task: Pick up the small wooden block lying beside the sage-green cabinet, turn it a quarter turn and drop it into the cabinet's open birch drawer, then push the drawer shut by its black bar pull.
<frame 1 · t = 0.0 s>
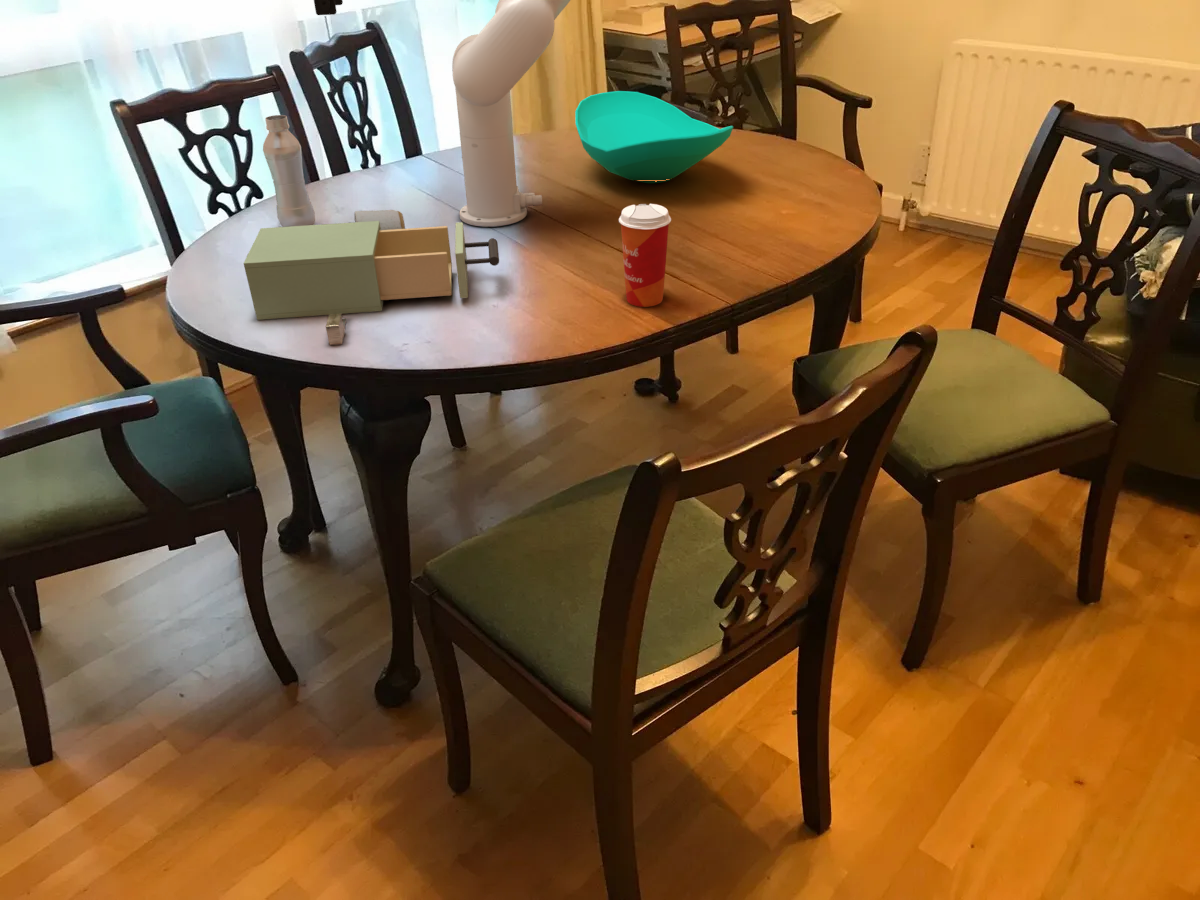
hand: (330, 9, 158), 37 cm above the table, tool pointing down, fingers open, 9 cm apart
plastic bottle: (298, 229, 177), on the table
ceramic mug: (381, 251, 167), on the table
table top decor: (651, 178, 197), on the table
cabinet: (325, 295, 151), on the table
paper cup: (644, 300, 147), on the table
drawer: (426, 261, 150), point 5 cm above the table, slide at 12.0 cm
wooden block: (338, 331, 140), on the table
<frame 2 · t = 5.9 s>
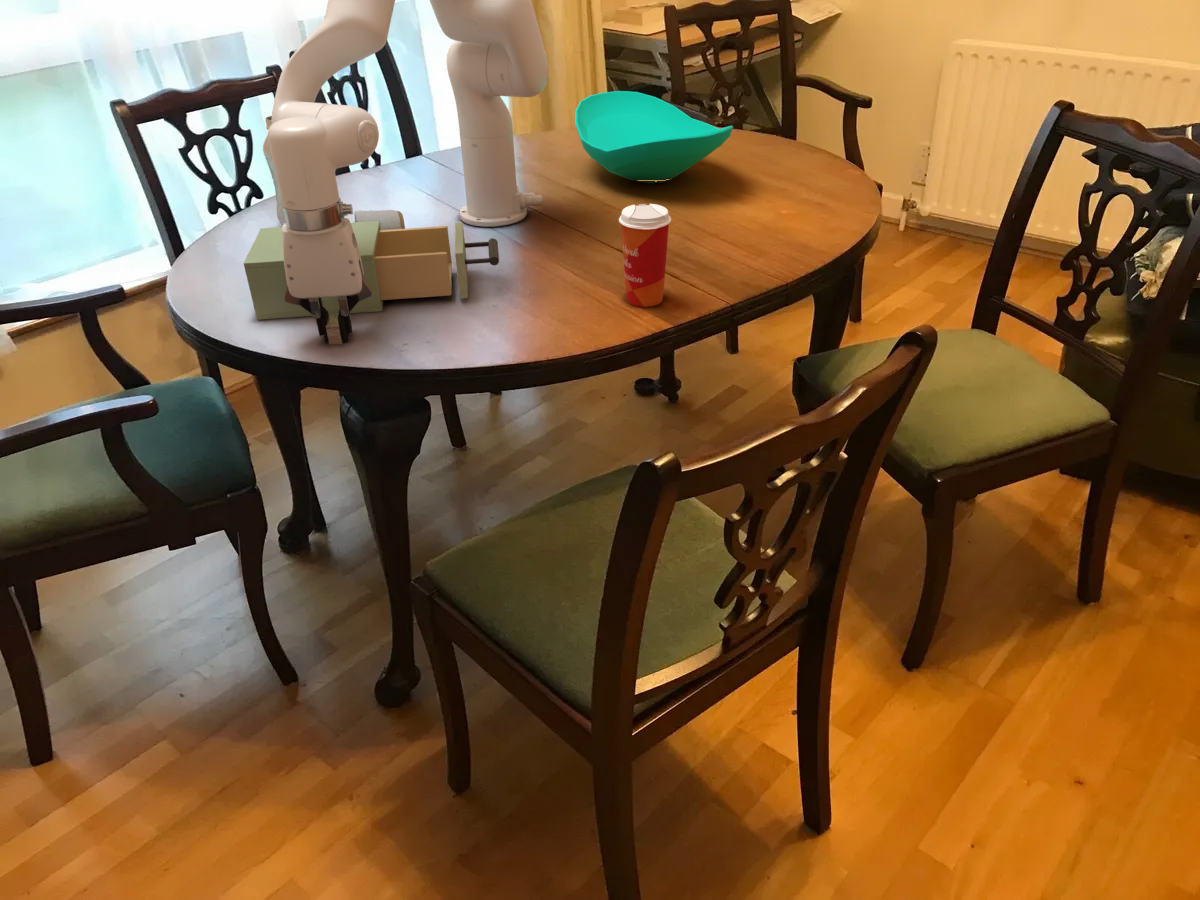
hand: (337, 337, 138), 0 cm above the table, tool pointing down, fingers closed on wooden block, 1 cm apart
wooden block: (338, 331, 140), on the table, touching gripper
everything else where it was.
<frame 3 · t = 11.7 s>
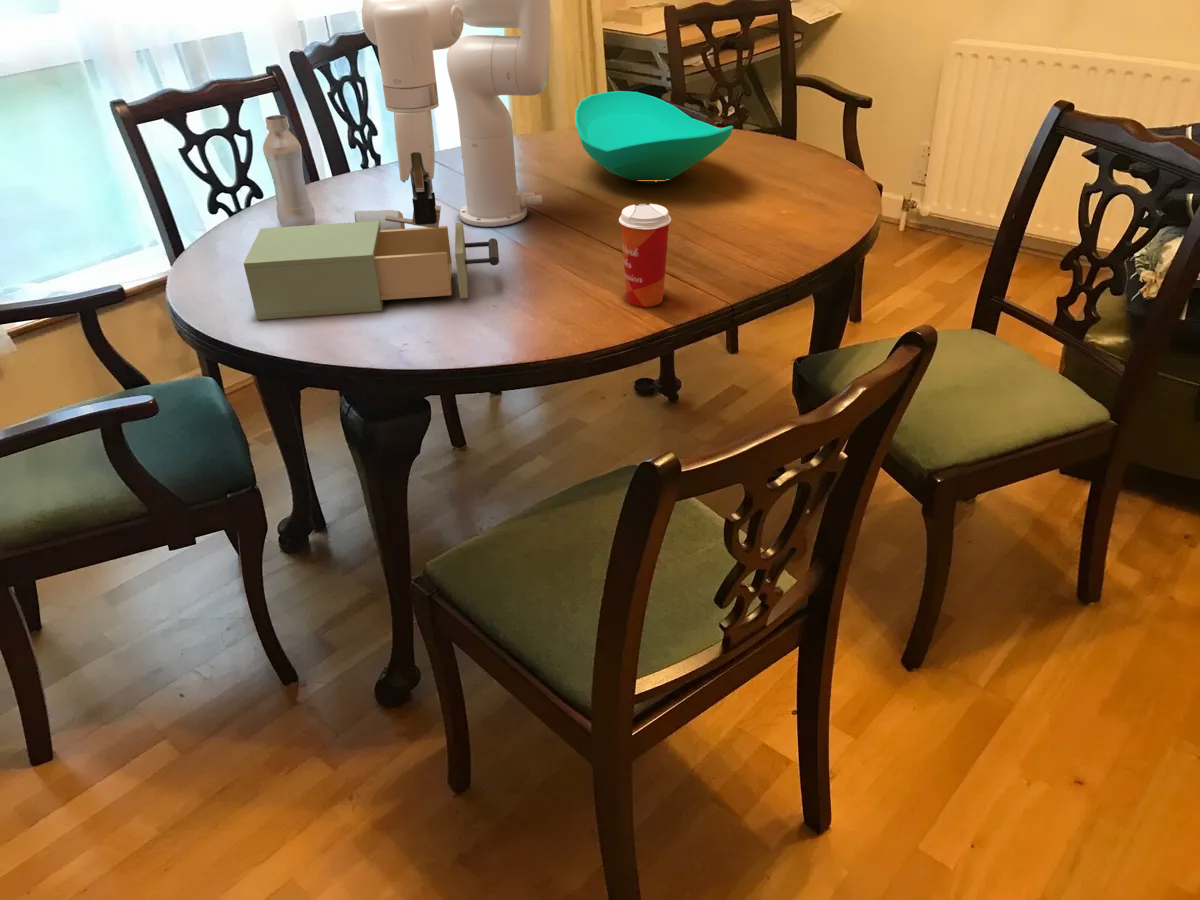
hand: (426, 220, 146), 11 cm above the table, tool pointing down, fingers closed on wooden block, 1 cm apart
wooden block: (410, 222, 146), point 11 cm above the table, tilted 13°, touching gripper
everything else where it was.
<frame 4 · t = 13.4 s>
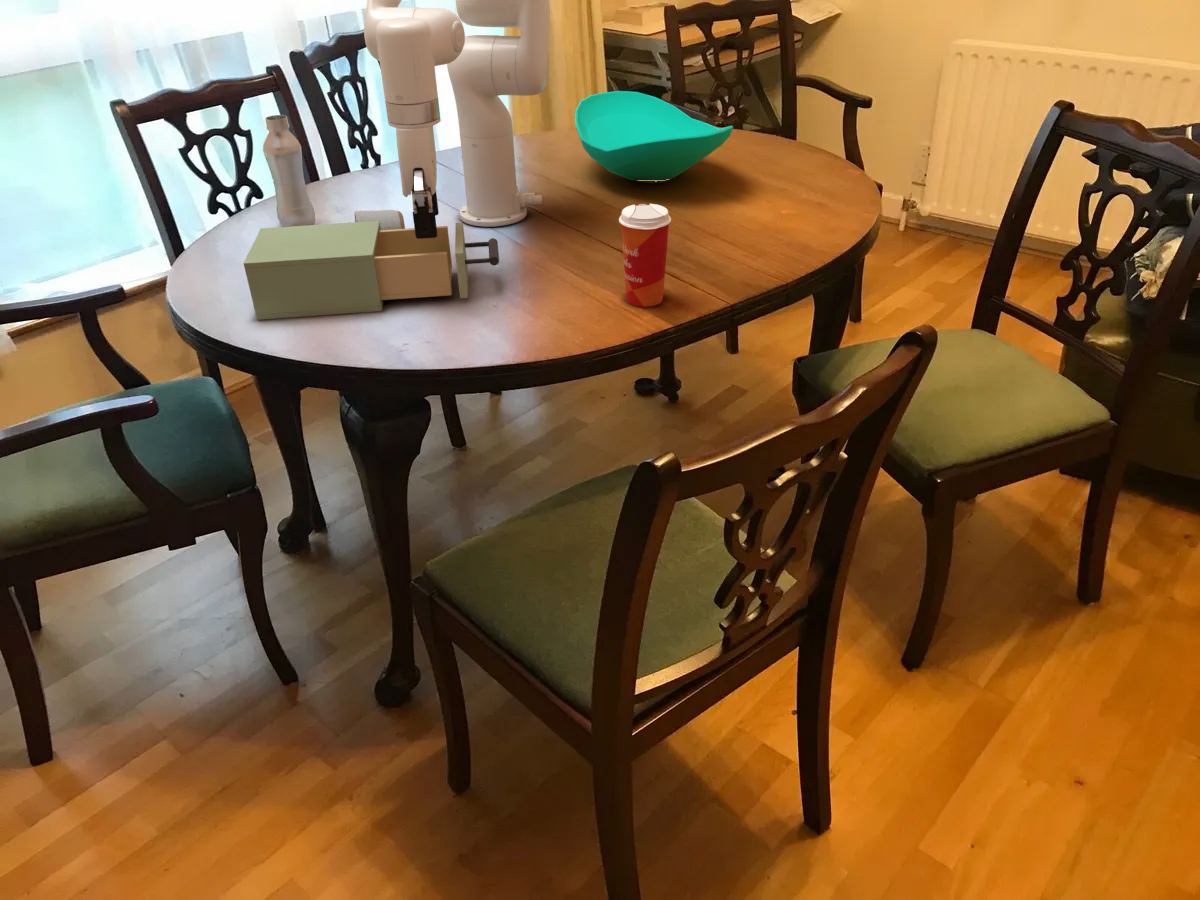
hand: (427, 226, 147), 10 cm above the table, tool pointing down, fingers open, 9 cm apart
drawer: (426, 261, 150), point 5 cm above the table, slide at 12.0 cm, touching wooden block
wooden block: (416, 277, 151), point 2 cm above the table, touching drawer
everything else where it was.
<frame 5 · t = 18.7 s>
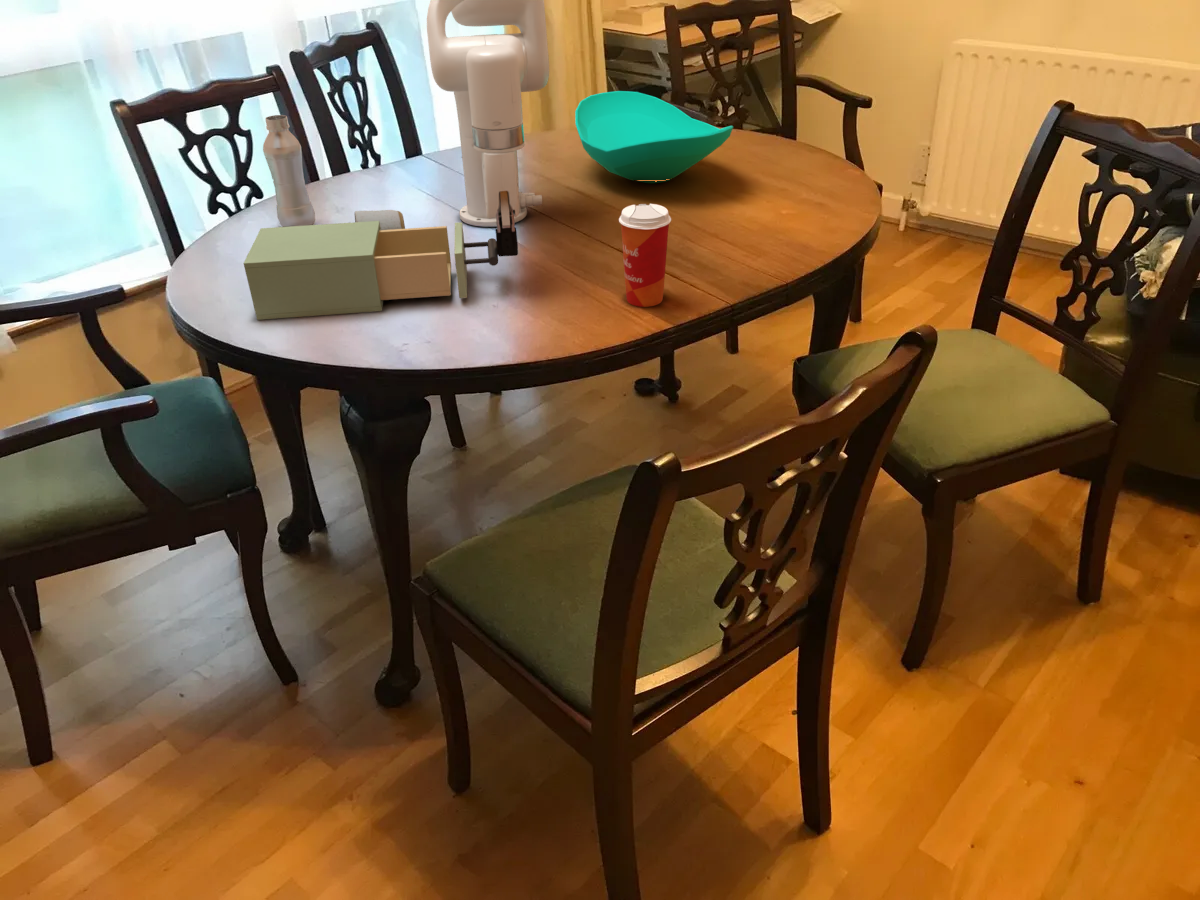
hand: (507, 253, 151), 5 cm above the table, tool pointing down, fingers closed
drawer: (425, 261, 150), point 5 cm above the table, slide at 11.9 cm, touching gripper, wooden block
everything else where it was.
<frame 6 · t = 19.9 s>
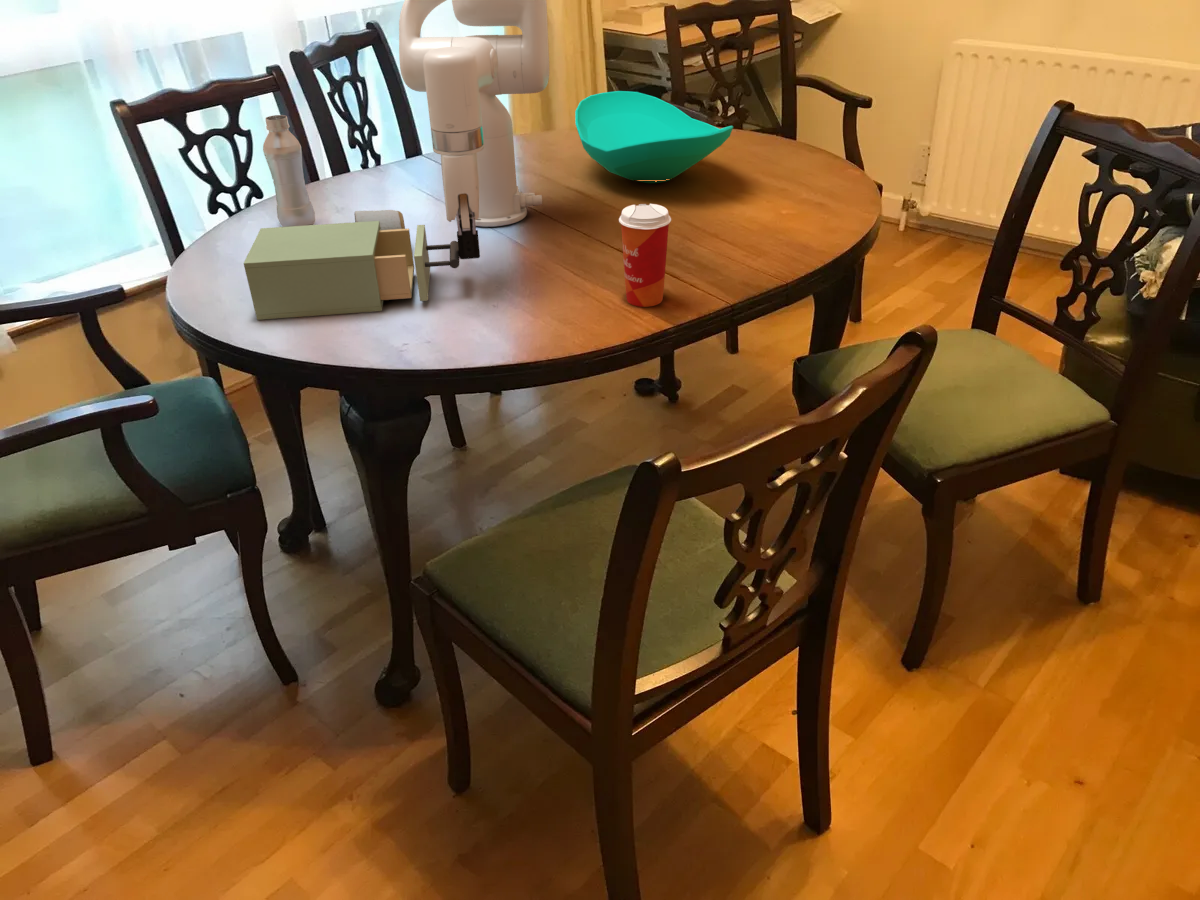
hand: (469, 256, 151), 5 cm above the table, tool pointing down, fingers closed
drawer: (386, 264, 150), point 5 cm above the table, slide at 5.9 cm, touching gripper, wooden block
wooden block: (377, 280, 151), point 2 cm above the table, touching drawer
everything else where it was.
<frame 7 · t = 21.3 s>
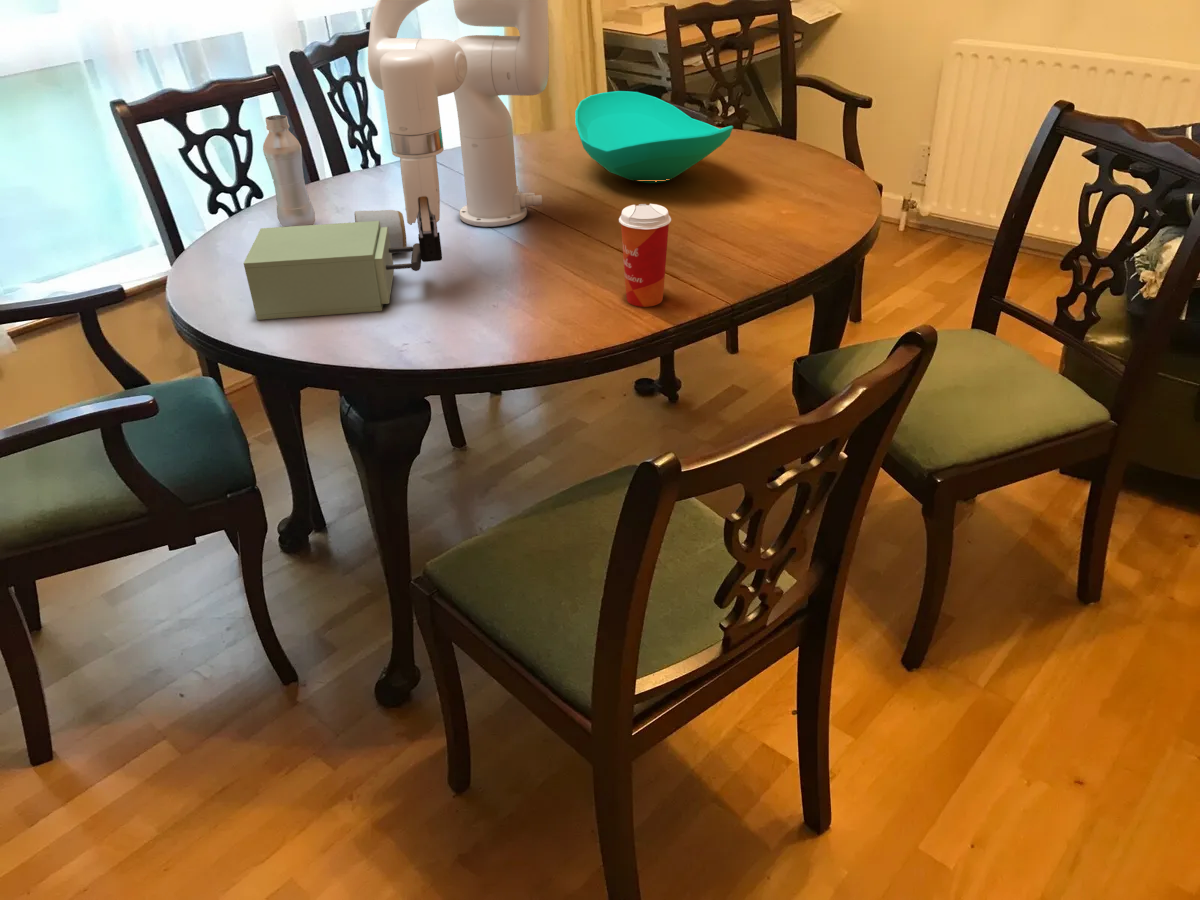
hand: (432, 259, 150), 5 cm above the table, tool pointing down, fingers closed
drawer: (348, 266, 149), point 5 cm above the table, slide at 0.0 cm, touching cabinet, gripper, wooden block
wooden block: (339, 283, 150), point 2 cm above the table, touching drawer
everything else where it was.
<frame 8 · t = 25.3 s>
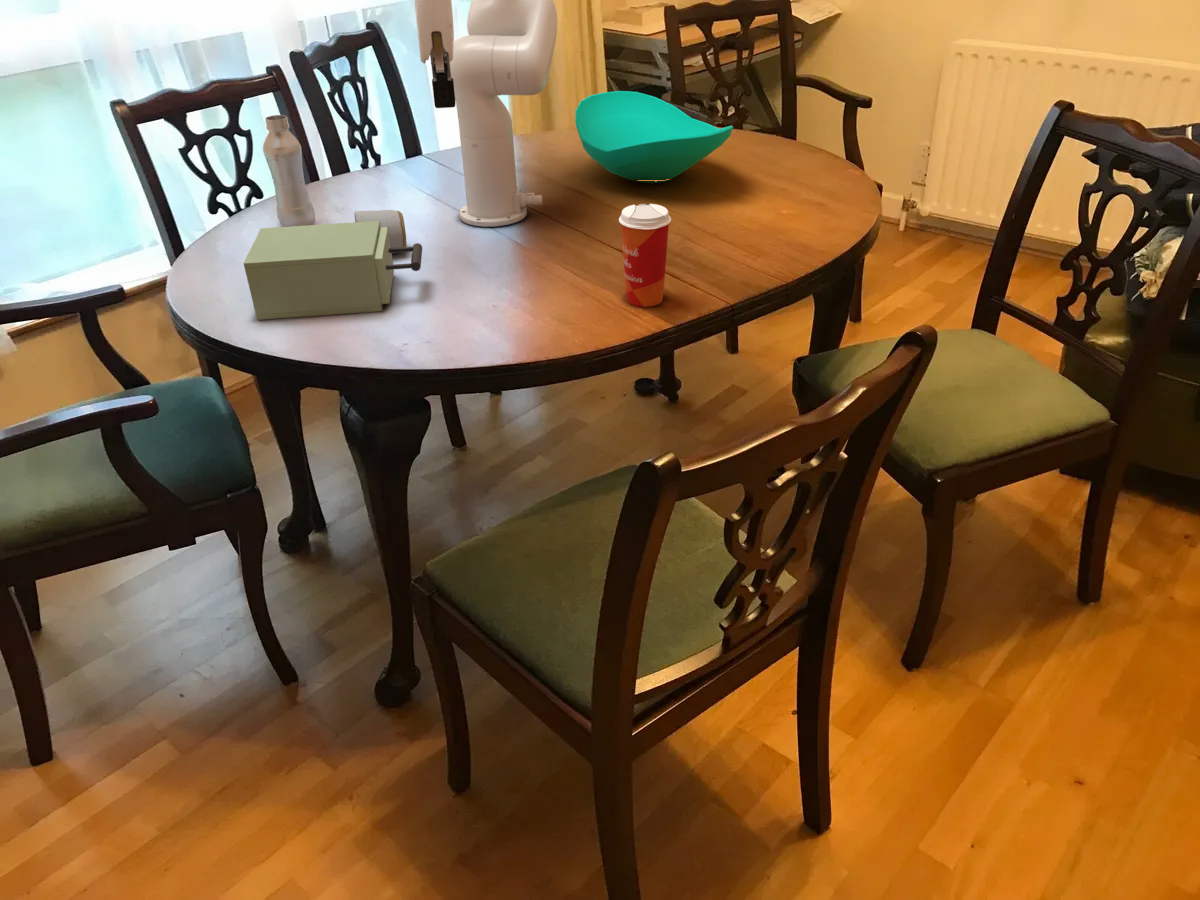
hand: (445, 106, 149), 25 cm above the table, tool pointing down, fingers closed
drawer: (348, 266, 149), point 5 cm above the table, slide at 0.0 cm, touching wooden block
everything else where it was.
at the end: wooden block inside the target area in the cabinet (2.5 cm from its centre), point 2.0 cm above the cabinet's base; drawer slide at 0.0 cm; the gripper is holding nothing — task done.
